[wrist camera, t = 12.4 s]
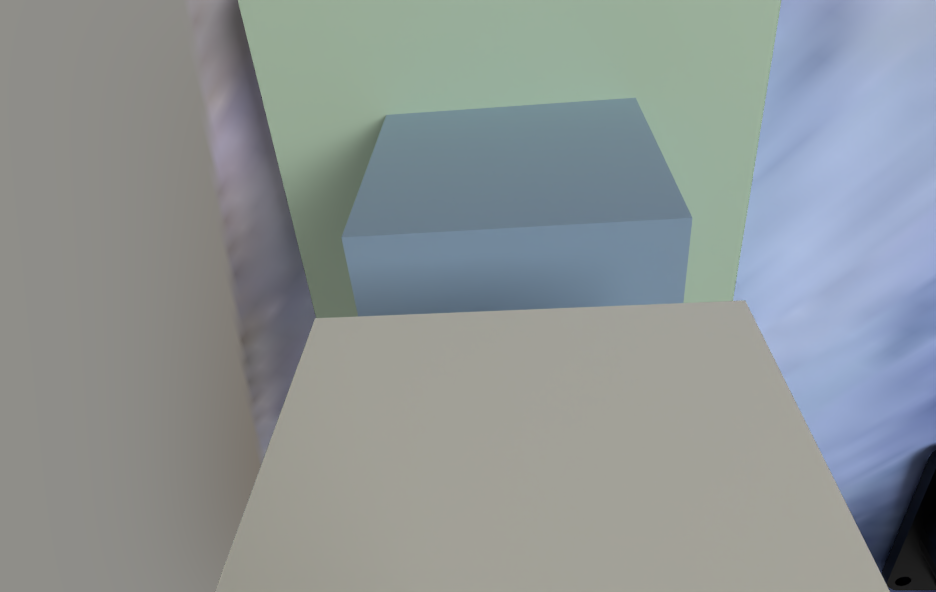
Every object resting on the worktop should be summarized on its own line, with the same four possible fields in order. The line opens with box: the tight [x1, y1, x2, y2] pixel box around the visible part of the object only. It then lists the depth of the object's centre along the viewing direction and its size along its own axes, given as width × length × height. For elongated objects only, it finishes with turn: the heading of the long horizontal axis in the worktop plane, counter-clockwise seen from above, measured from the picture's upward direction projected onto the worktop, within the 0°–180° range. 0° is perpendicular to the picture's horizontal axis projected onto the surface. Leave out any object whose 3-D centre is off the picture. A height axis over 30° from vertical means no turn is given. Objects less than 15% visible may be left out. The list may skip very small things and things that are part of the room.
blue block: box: [341, 98, 692, 317], centre depth 14 cm, size 5×5×5 cm
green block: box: [238, 0, 781, 318], centre depth 16 cm, size 10×10×1 cm
